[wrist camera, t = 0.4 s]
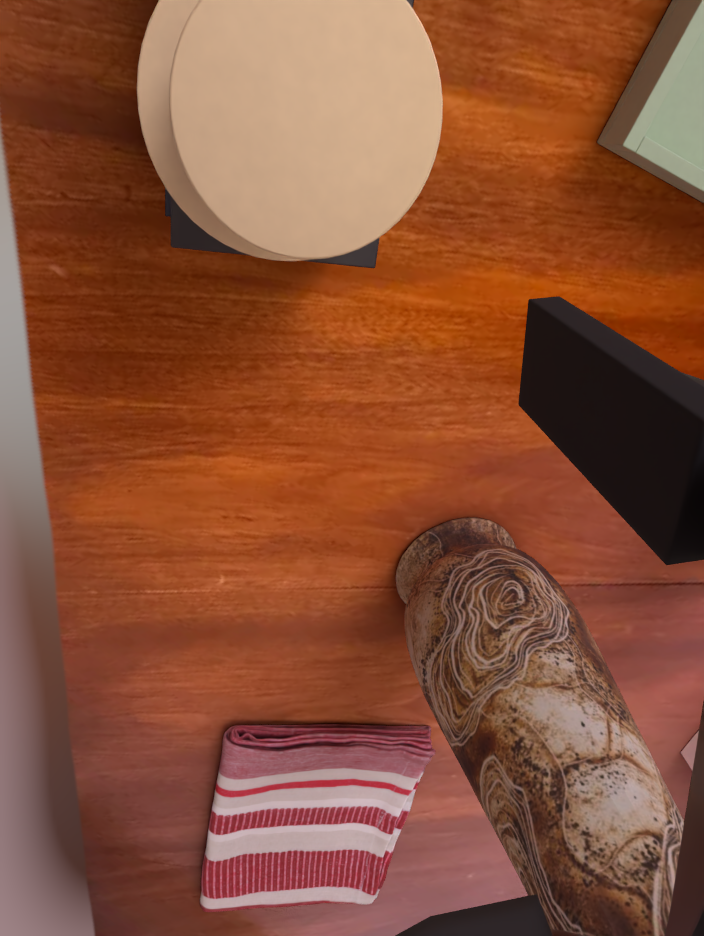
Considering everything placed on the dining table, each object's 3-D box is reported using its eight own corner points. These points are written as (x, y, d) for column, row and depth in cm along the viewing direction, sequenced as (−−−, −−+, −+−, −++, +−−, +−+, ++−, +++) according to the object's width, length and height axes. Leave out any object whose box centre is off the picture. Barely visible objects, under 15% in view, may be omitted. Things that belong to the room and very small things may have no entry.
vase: (453, 482, 42) (813, 1103, 16) (562, 549, 46) (983, 1122, 20) (357, 592, 45) (526, 1255, 19) (467, 645, 49) (725, 1243, 23)
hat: (73, 77, 21) (-12, 64, 14) (309, -149, 20) (354, -302, 12) (268, 309, 26) (281, 391, 19) (472, 145, 24) (575, 163, 17)
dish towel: (432, 721, 53) (441, 749, 50) (371, 884, 63) (376, 914, 61) (224, 719, 49) (223, 749, 47) (196, 894, 60) (194, 925, 57)
